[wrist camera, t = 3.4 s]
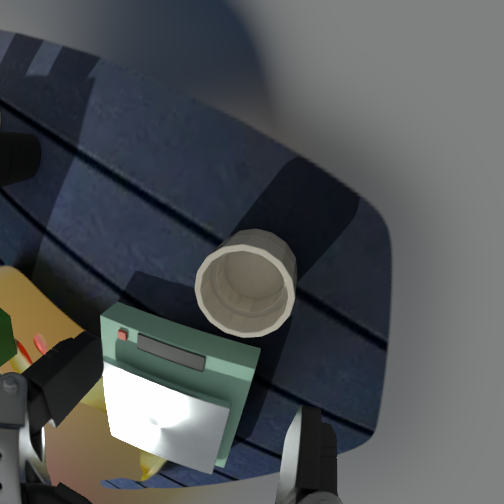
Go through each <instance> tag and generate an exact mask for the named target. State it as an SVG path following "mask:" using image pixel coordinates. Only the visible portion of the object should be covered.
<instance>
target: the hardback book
mask: <svg viewBox="0 0 504 504" xmlns="http://www.w3.org/2000/svg"><path fill="white" fill-rule="evenodd" d="M16 354H17V353H16V348H15V342H14V337H13V331H12V324H11V318H10V316H9V315H8V314H7V313H6V312H4V311H3V310H2V309H1V308H0V367H1V366H2V365H3V364H5V363H6V362H7V361H8V360H10V359H11V358H12V357H14V356H15V355H16Z"/></svg>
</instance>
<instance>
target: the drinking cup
mask: <svg viewBox="0 0 504 504" xmlns="http://www.w3.org/2000/svg"><path fill="white" fill-rule="evenodd" d="M40 158H41V150H40V144H39V142H38V140H37V138H36V137H35V136H34V135H31V134H23V133H13V132H3V131H0V187H3V186H6V185H9V184H13V183H16V182H19V181H23V180H26V179H29V178H31V177H33V176H34V175H35V173H36V172H37V170H38V167H39V164H40Z"/></svg>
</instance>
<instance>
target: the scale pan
mask: <svg viewBox="0 0 504 504" xmlns="http://www.w3.org/2000/svg"><path fill="white" fill-rule="evenodd" d="M103 360H104V370H103V374H102V375H103V384H104V392H105V399H106V406H107V412H108V418H109V424H110V429H111V435H113V436H115V437H117V438H119V439H121V440H123V441H125V442H127V443H130V444H131V445H134V446H136V447H138V448H140V449H143V450H145V451H147V452H150V453H152V454H155V455H157V456H160V457H162V458H165V459H167V460H170V461H173V462H175V463H178V464H181V465H184V466H186V467H189V468H192V469H195V470H198V471H202V472H205V473H208V474H211V475H212V473H213V470H214V467H215V463H216V460H217V456H218V453H219V449H220V445H221V442H222V438H223V435H224V431H225V428H226V424H227V420H228V417H229V413H230V409H231V406H232V403H231V402H227V401H224V400H221V399H217V398H214V397H211V396H208V395H205V394H202V393H199V392H196V391H193V390H190V389H187V388H184V387H181V386H179V385H176V384H173V383H170V382H168V381H165V380H162V379H160V378H157V377H155V376H152V375H150V374H147V373H145V372H142V371H140V370H137V369H135V368H133V367H130V366H128V365H126V364H123V363H121V362H119V361H117V360H114V359H112V358H110V357H108V356H106V355H105V356H104V357H103Z"/></svg>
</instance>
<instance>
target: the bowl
mask: <svg viewBox="0 0 504 504" xmlns="http://www.w3.org/2000/svg"><path fill="white" fill-rule="evenodd" d="M297 276H298V271H297V264H296V258H295V256H294V254H293V253H292V251H291V249H290V248H289V246H288V244H286V242H284V241H283V240H282V239H280V238H279V237H278V236H276V235H275V234H273V233H271V232H267V231H264V230H260V229H249V230H242V231H239V232H237V233H235V234H233V235H232V236H230V237H229V238H227V239H226V240H225V241H223V242H222V243H221V244H220V245H219V246H218V247H217V248H216V249H215V250H214V251H213V252H212V253H211V254H209V255H208V256H207V257H206V259H205V260H204V262H203V263H202V265H201V266H200V268H199V269H198V272H197V276H196V282H195V293H196V297H197V301H198V305H199V307H200V309H201V310H202V312H203V313H204V315H205V316H206V317H207V319H208V320H209V321H210V322H211V323H212V324H214V325H215V326H216V327H218V328H219V329H221V330H222V331H224V332H225V333H229V334H232V335H235V336H239V337H243V338H246V337H261V336H264V335H266V334H268V333H270V332H272V331H275V330H277V329H278V328H279V327H280V326H281V325H282V324H283V323H284V322H285V321H286V319H287V318H288V317H289V316H290V314H291V310H292V307H293V304H294V301H295V294H296V285H297Z"/></svg>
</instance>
